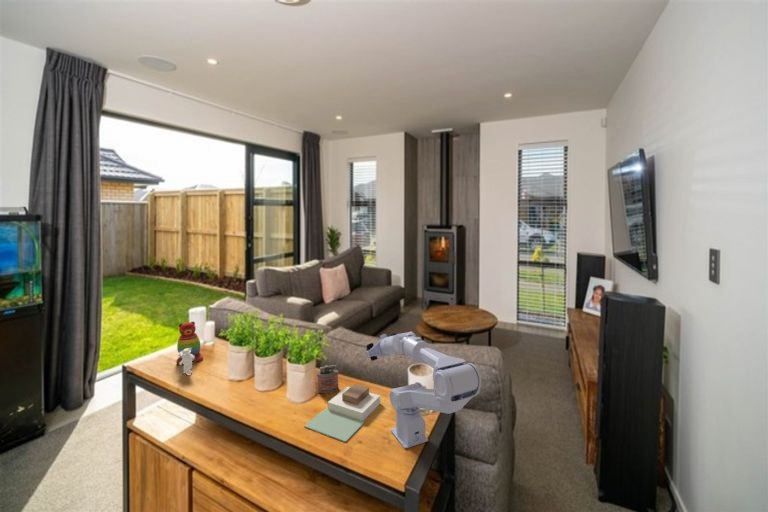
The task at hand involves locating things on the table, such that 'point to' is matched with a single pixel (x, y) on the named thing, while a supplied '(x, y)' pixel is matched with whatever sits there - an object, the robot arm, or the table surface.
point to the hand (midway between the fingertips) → (377, 348)
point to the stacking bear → (189, 341)
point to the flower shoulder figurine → (186, 360)
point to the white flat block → (354, 410)
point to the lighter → (327, 379)
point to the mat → (335, 425)
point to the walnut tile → (355, 394)
